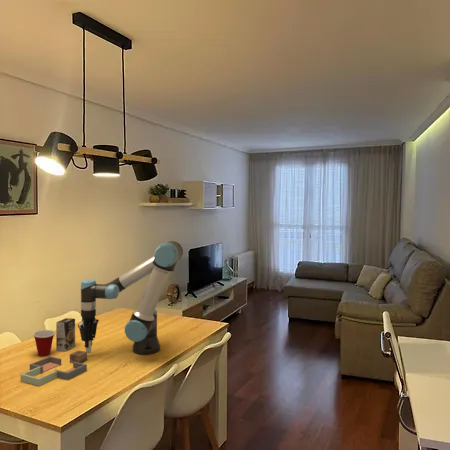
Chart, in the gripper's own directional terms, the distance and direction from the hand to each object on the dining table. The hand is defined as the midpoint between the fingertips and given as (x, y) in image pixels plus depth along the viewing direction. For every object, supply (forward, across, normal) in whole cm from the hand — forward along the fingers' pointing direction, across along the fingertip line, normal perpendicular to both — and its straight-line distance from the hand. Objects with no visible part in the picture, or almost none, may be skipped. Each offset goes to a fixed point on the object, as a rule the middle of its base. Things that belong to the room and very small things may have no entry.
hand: (88, 352), depth 211 cm
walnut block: (+2, +7, 0) cm, 8 cm away
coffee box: (+2, -4, -20) cm, 21 cm away
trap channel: (+2, +25, 0) cm, 25 cm away
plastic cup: (+2, +8, -23) cm, 25 cm away
